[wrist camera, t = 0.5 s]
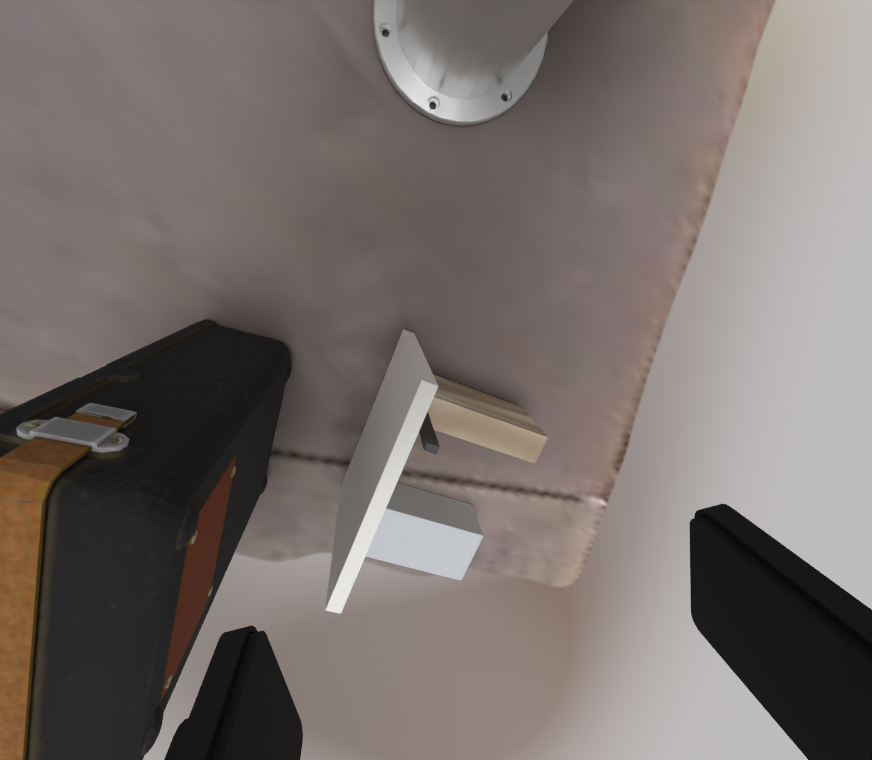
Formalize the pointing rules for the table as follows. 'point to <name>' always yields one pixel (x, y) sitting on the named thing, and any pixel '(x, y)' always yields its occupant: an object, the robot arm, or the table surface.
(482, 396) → the tall beige wooden block
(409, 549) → the white board with blocks
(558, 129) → the table surface
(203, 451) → the voltmeter
